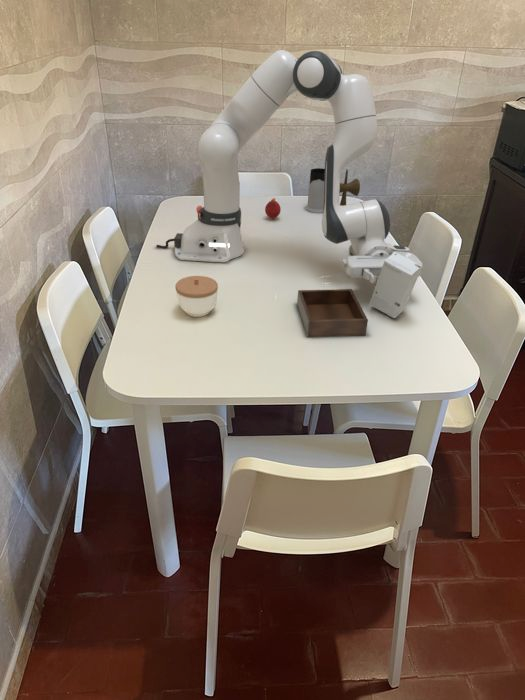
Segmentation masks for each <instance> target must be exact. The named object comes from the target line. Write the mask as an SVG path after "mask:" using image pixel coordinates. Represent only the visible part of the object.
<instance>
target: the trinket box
mask: <svg viewBox="0 0 525 700" xmlns="http://www.w3.org/2000/svg"><path fill="white" fill-rule="evenodd" d="M218 289H219V284H218V282H217V281H216V280H215V279H214V278H213V277H209V276H204V275H191V276H186V277H182V278H181V279H179V280H178V281H176V283H175V292H176V299H177V303H178V305H179V307H180V309H181V310H182V311H183V312H185V313H186V315H187V316H190V317H194V318H200V317H201V318H202V317H205V316H207V315H208V314H209V313H210V312H211V311H212V310H213V309H214V308H215V306H216V303H217V300H218Z"/></svg>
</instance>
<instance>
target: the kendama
mask: <svg viewBox="0 0 525 700" xmlns="http://www.w3.org/2000/svg"><path fill="white" fill-rule="evenodd" d="M348 176H349V170H348V169H346V170H345V175H344V181H343V183H342V182H340V191H339V194H340V193H342V194H341V199H340V201H339V205H341V206H344V205H347V193H350V194H352V196H355V197H358V196H359V194H360V190H361V182H360V180H359V179H358V178H354V179H353V180H351V181H350V182H348Z"/></svg>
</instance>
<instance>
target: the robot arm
mask: <svg viewBox="0 0 525 700" xmlns="http://www.w3.org/2000/svg"><path fill="white" fill-rule="evenodd" d="M295 92H299V93H300V94H301V95H302V96H304V97H306V98H307V99H309V100H312V101H327V102H328V103H329V104H330V106H331V108H332V113H333V121H334V130H335V132H334V137H333V141H332V144H330V145H329V146H328V147H327V149H326V153H325V159H324V169H325V176H324V210H323V213H322V219H321V229H322V233H323V236H324V238H325V239H326V240H328V241H329V242H331V243H333V244H336V245H337V244H340V243H341V244H342V243H344V242H348V241H350V245H352V248H353V251H354V253H355V255H356V256H354V255H349V256H347V257H345V258H343V259H342V261H341V263H342V265H343V266H345V272H346V275H347V277H348V278H350V279H365V280H368V281H369V282H370V283H371V284H372V283H375V284H376V283H377V281H378V278H379V275H380V272H381V269H382V266H383V264H384V261H385V260H386V259H387V258H388V257H389V256H390V255H392V254H393V253H394V252H396V253H398V254H400V255H402V256H404V257H407V258H409V259H410V260H412V261H413V262H415V263H417V264H419V265H421V266H422V268H421V271H420V273H419V275H418V278H419V277H420V276H421V275H422V273H423V268H424V264H423V262H422V261H421V260H420V258H418V256H417V255H415V254H414V253H412V252H410V248H409V247H407V246H401V245H395V244H392V243H390V242H385V240H386V239H387V237H388V235H389V233H390V229H391V221H390V220H391V218H390V213H389V211H388V208H387V207H386V205H384V203H383V202H382V201H380V200H379V199H377V198H375V199H368V200H365V201H359V202H355V203H349V204H346V205H344V206H341V205H340V193H339V191H340V183H341V175H342V172H343V170H345V168H346V167H347V166H348V165H349V164H350V163H351V162H353V161H355V160H356V159H358V158H360V157H362V156H363V155H364V154H365V153H366V152H368V151H369V150H370V149H371V148H372V147H373V145H374V144H375V142H376V140H377V137H378V119H377V111H376V110H377V109H376V104H375V100H374V99H375V98H374V96H373V95H374V94H373V91H372V88H371V85H370V82H369V79H368V78H367V77H365V76H364V75H362V74H358V73H352V74H351V73H350V74H346V75H345V74H343V71H342V68H341V66H340V65H339V63H338V62H337V61H336V60H335V59H334V58H333V57H332V56H331V55H329V54H327V53H324V52H322V51H320V50H310V51H307V52H305V53H303V54H302V55H300V56H299V58H297V57H296V56H295V55H294V54H292V53H291V52H290V51H288V50H284V49H278V50H276V51H274V52H273V53H272V54H271V55H270V56H268V57H267V58H266V59H265V60H264V61H263V62H262V63H261V64H260V65H259V66H258V67H257V68H256V69H255V70H254V71H253V73H252V74H251V75H250V76H249V77H248V79H247V80H246V81H245V83H244V84H243V85H242V86H241V87H240V88H239V89H238V91H237V92H236V93H235V94H234V95H233V97H232V98H231V99H230V100H229V102H228V103H227V104H226V106H225V107H224V108H223V109H222V110H221V112H220V113H219V114H218V116H217V117H216V118H215V119H214V120H213V121H212V123H211V124H210V125H209V126H208V127H207V129H206V130H205V131H204V132H203V133H202V134H201V136H200V138H199V140H198V145H197V146H198V147H197V151H198V153H197V154H198V156H199V157H198V158H199V165H200V171H201V177H202V184H203V187H202V188H203V206H202V205H197V207H196V213H197V220H195V221H194V222H193V223H192V224H190V225H188V226H187V227H186V228H185V229H184V230H183V232H181V233H180V232H177V233H176V235H175V236H174V238H169V239H166V241H165V245H161V244H156V245H155V246H156V248H159V249H168V248H169V243H170V242H173V244H174V255H175V257H176V258H177V259H179V260H181V261H194V262H209V263H210V262H211V263H228V262H229V261H230V260H232V259H235V258H238V257H240V256H242V255H244V253H245V248H244V245H243V239H242V231H241V225H242V208H241V207H240V205H241V204H240V203H241V201H240V200H241V198H240V194H241V193H240V191H241V189H240V188H241V186H240V185H241V183H240V176H239V163H238V157H239V156H238V155H239V152H240V151H241V150H242V148H243V147H244V146H245V145H246V144H247V143H248V142H249V141H250V140H251V138H252V137H254V135H256V133H257V132H259V130H260V129H261V128H262V127H263V126H264V125H265V124H266V123H267V122H268V120H270V118H271V117H272V116H273V114H275V113H276V111H277V110H278V109H280V107H281V106H282V105H283V104H284V102H285V101H286V100H287V99H288V98H289V97H290V96H291V95H293V94H294V93H295Z"/></svg>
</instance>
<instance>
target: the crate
mask: <svg viewBox="0 0 525 700" xmlns="http://www.w3.org/2000/svg"><path fill="white" fill-rule="evenodd" d="M296 306H297V309H298V312H299V315H300V318H301V321H302V324H303V328H304V331H305V334H306V336H307V338H314V337H315V338H318V337H319V338H320V337H324V338H325V337H350V336H351V337H352V336H356V337H357V336H366V335H367V329H368V322H369V319H368V317H367V316H366V313H365V312H364V310H363V308H362V306H361V304H360V302H359V300H358V298H357V296H356V295H355V292H354V291H353V289H352V288H347V289H346V288H344V289H343V288H342V289H339V288H338V289H299V290H297V302H296Z"/></svg>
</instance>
